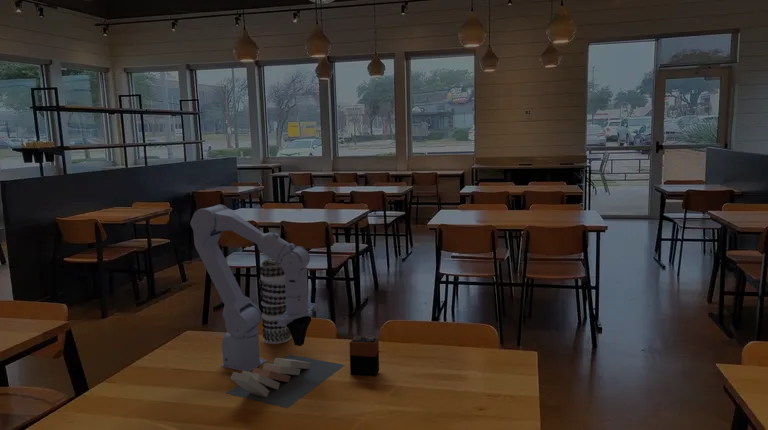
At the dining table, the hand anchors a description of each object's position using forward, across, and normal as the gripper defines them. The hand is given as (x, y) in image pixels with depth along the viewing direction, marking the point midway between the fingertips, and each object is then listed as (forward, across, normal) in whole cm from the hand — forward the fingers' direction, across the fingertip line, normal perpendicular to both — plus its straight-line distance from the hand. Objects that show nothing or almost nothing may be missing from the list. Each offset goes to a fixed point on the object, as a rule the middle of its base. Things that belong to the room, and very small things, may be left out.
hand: (299, 344), depth 147 cm
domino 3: (+6, -8, 0) cm, 10 cm away
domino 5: (+6, +1, 0) cm, 6 cm away
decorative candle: (+7, +16, +19) cm, 26 cm away
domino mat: (+7, -6, -1) cm, 9 cm away
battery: (+7, +4, -17) cm, 19 cm away
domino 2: (+6, -12, 0) cm, 14 cm away
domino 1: (+6, -17, 0) cm, 18 cm away
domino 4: (+6, -4, 0) cm, 7 cm away
